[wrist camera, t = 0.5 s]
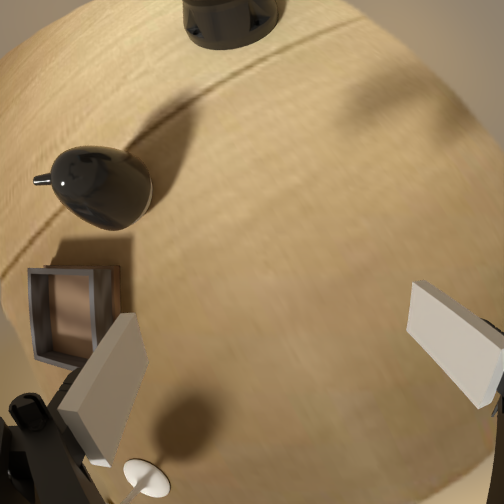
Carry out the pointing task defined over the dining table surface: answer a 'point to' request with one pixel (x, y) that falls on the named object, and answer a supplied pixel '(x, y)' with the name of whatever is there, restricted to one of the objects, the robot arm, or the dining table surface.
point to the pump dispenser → (100, 185)
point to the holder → (71, 311)
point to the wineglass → (145, 480)
